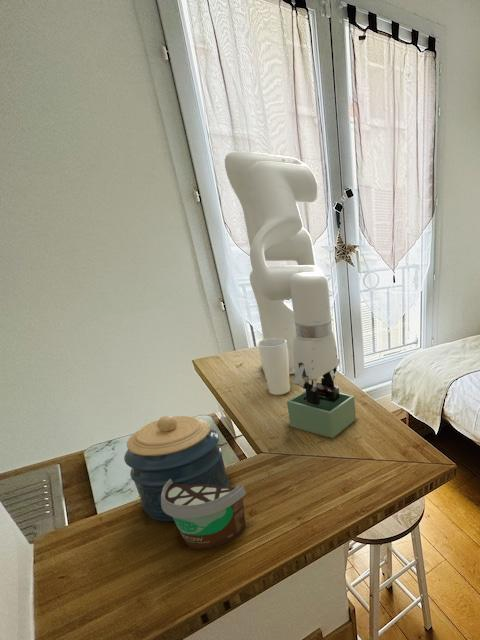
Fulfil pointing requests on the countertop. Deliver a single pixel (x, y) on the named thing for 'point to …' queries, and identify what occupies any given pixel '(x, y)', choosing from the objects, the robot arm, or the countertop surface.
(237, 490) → the food container
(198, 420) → the canister
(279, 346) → the drinking glass
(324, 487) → the countertop surface
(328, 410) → the bin
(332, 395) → the wireless earbuds
